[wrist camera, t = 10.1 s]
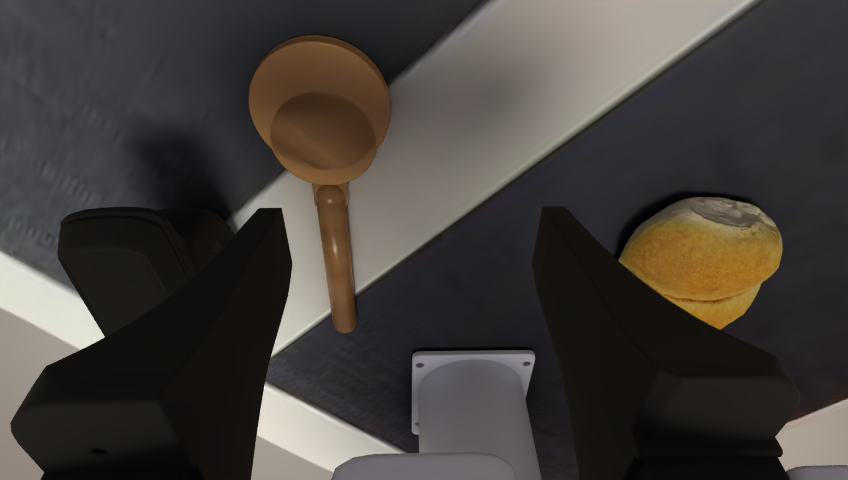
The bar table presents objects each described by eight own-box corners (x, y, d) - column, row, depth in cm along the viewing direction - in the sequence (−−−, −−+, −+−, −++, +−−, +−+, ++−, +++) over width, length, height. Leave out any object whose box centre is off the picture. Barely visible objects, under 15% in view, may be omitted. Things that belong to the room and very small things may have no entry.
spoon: (395, 319, 33) (395, 337, 32) (297, 320, 32) (293, 338, 31) (388, 34, 22) (387, 47, 20) (239, 33, 21) (230, 46, 20)
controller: (203, 313, 32) (139, 478, 24) (119, 126, 24) (-16, 283, 16) (275, 310, 32) (234, 473, 24) (215, 122, 24) (125, 277, 16)
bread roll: (585, 307, 32) (604, 360, 29) (643, 185, 27) (674, 235, 24) (712, 316, 33) (743, 369, 30) (794, 200, 28) (843, 251, 24)
